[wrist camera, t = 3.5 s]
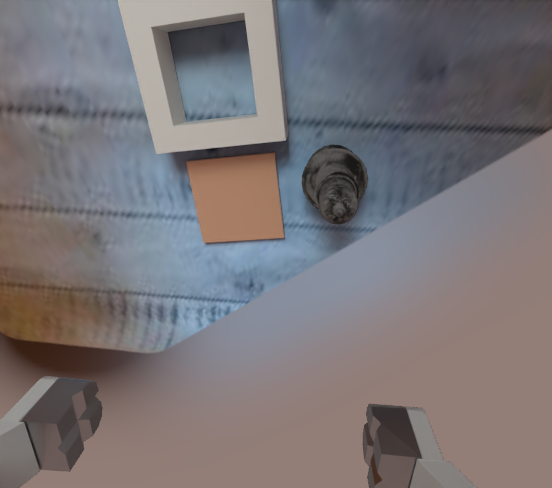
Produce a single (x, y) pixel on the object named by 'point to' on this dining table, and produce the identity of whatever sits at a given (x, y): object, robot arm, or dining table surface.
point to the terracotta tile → (237, 197)
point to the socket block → (164, 84)
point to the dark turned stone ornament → (335, 182)
